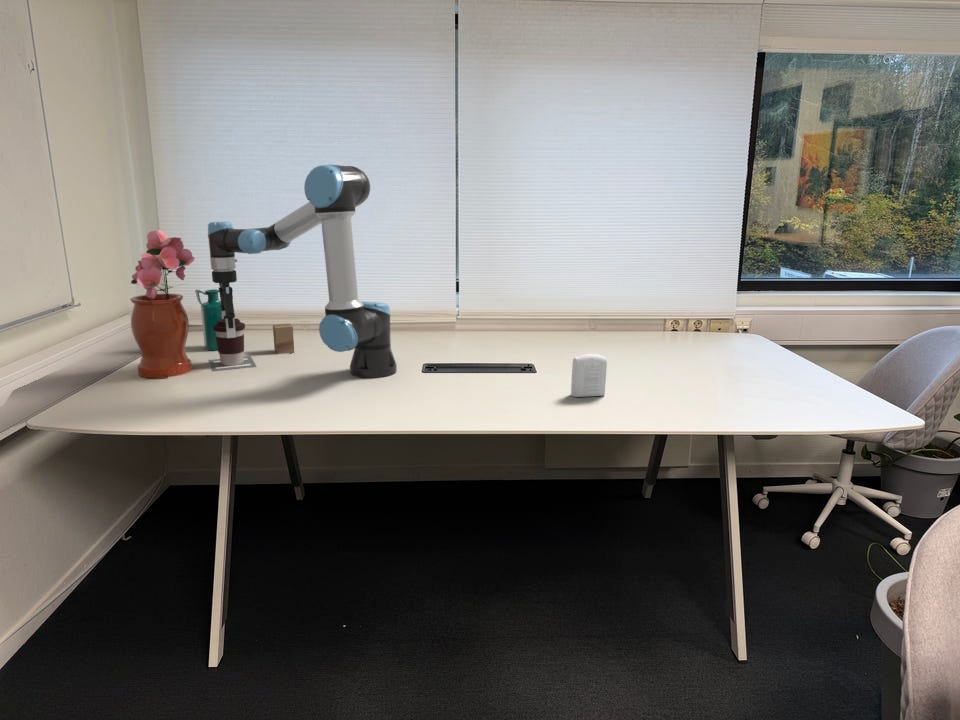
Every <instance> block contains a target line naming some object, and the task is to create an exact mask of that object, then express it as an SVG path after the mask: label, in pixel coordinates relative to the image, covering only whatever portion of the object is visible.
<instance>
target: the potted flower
mask: <svg viewBox="0 0 960 720" xmlns="http://www.w3.org/2000/svg"><path fill="white" fill-rule="evenodd" d="M146 238H147V243H146V245H145V246H146V248H147V250H146V252H143V253H140V256H141V259H140V260H137V262H138V264H137V265H136V266H135V273H133V274H132V275H131V279H132V280H131V281H130V284H131V285H132V284H133V285H137V284H138V285H139V286H140V287H142V288H143V289H145V290H146V293H145V294H142V295H137V296H136V295H135V296H132V297H131V298H130V301H131V303H132V304H133V309H132V311H131V314H130V329H131V333H132V336H133V338H134V340H135V343H136V344H137V346H138V348H139V351H140V353H141V356H140V357H141V358H140V362H138V363H137V372H138V376H139V377H141V378H143V379H144V378H145V379H168V378H169V377H176V376H181V375H185V374H187V373H189V372H191V371H192V369H193V367H192V360H191V359H190V358H189V357H188V356H187V354H186V351H185V350H186V343H187V340H188V335H189V329H190V328H189V327H190V326H189V325H190V324H189V322H190V321H189V317H188V313H187V312H186V310H185V308H184V306H183V304H182V301H183V298H184V296H183V294H179V293H169V289H171V288H174V287H176V285H175V286H170V285H168V279H167V278H168V277H167V276H168V275H169V274H171V273H174V271H173V270H175V275H176V277H177V278H178V279H180V280H181V281H185V279H184V278H185V277H186V275H185V272H184V271H185V270H186V267H187V266H190V264H192V263H193V262H194V261H195V257H194V256H193V253H192V251H191V250H190V249H188V248H184V247H185V246H184V242H183V240H182V237H176V236H175V237H169V236H168V235H167V234H166V233H165V232H164V231H162V230H160V229H158V230H151V231H149V232H148V233H147V235H146ZM162 271H163V272H162ZM163 274H164V275H163ZM162 276H163V282H164V284H161V280H162ZM187 284H188V283H186V285H187ZM158 285H161V286H164V288H161V287H160V286H158ZM183 285H185V283H184V284H182V286H183ZM177 286H178V287H179V286H180V284H179V285H177ZM156 287H157V288H158V289H156ZM159 291H160V292H163V293H158V292H159Z"/></svg>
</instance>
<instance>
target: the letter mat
mask: <svg viewBox="0 0 960 720" xmlns="http://www.w3.org/2000/svg"><path fill="white" fill-rule="evenodd" d="M208 363H209V367H210V370H211V372H218V371H221V372H222V371H231V370H240V369H248V368H250V369H251V368H257V364H256V362H255V361H254V359H253V358H252V356H251V355H248V356H247V355H246V356H245V355H244V362H243V363H242V364H240V365H235V366H225V365H222V364H221V361H220V358H217V359H215V358H213V359H208Z"/></svg>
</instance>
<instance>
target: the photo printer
mask: <svg viewBox="0 0 960 720" xmlns="http://www.w3.org/2000/svg"><path fill="white" fill-rule="evenodd" d="M607 363H608V361H607V358H606V356H603V355H600V354H594V353H586V354H580V355H578V356H575V357H574V358H573V359H572V369H571V386H570V387H571V388H570V395H571V397H574V398H580V397H581V398H582V397H583V398H584V397H599V396H600V397H601V396H605V394H606V393H605V392H606V382H607V381H606V380H607V366H608V364H607Z"/></svg>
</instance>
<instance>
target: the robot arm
mask: <svg viewBox="0 0 960 720" xmlns="http://www.w3.org/2000/svg"><path fill="white" fill-rule="evenodd" d="M303 187H304V189H303V190H304V195H305V197H306V200H307V201H308V202H307V203H305V204H303V205H302V206H300V207H299V208H297V209H295V210H293V211H292V212H291V213H289V214H287V215H286V216H284V217H283V218H281V219H279V220H277V222H275V223H273V224H271V225H269V226H267V227H256V228H234V227H233V223H232V222H231V221H212V222H208V224H207V237H208V246H209V255H210V257H209V258H210V259H209V260H210V269H211V270H212V272H211V277H212V279H211V280H212V282H213V283H214V284H218V285H219V287H218V290H219V293H218V294H219V301H221V305H220V307H221V310H222V319H225V320H226V331H227V338H235V337H236V330H235V319H234V318H235V317H236V313H235V308H234V302H233V301H234V296H233V288H232V286H230V283H231V284H232V283H236V282H237V280H238V279H237V276H238V275H237V271H236V270H235V269H236V266H237V265H236V263H237V262H238V259H237V258H236V257H235V256H236V254H235V253H239V254H248V255H253V254H254V255H256V254H261V253H262V252H267V251H270V252H271V251H280V250H283V249H287V248H288V247H289V246H290V244H291V243H292V242H293V241H294V240H295V239H298V238H300V237H301V236H302V235H304V234H305V233H308V232H309V231H311V230H312V229H315V228H316V227H317V226H319V225H320V224H321V231H322V241H323V251H324V261H325V271H326V282H327V293H328V302H327V304H326V305H325V306H324V314H325V316H324V317H323V318H322V319H321V321H320V322H319V326H318V331H319V332H318V333H319V335H320V338H321V340H322V343H323V344H325V346H326V347H327V348H328V349H330V350H332V351H334V352H337V353H343V352H347V351H348V352H350V351H352V350H353V354H352V357H351V361H350V365H349V372H350V374H351V375H352V376H355V377H360V378H368V379H369V378H383V377H389V376H391V375H394V374H396V373H397V367H398V366H397V362H396V360H395V357H394V353H393V351H392V347H391V345H392V344H391V342H392V341H391V311H390V306H389V304H388V303H385V302H379V301H378V302H377V301H361V300H360V299H359V295H358V283H357V273H356V272H357V271H356V263H355V260H356V258H355V248H354V237H353V225H352V217H353V216H354V215H355V214H356V208H357V207H358V206H361V205H362V204H363V203H365V201H367V200H368V198H369V196H370V192H371V182H370V180H369V177H368V175H367V174H366V173H365V172H364V170H362V169H360V168H359V167H357V166H353V165H352V166H351V165H339V164H322V165H317V166H315V167H313V169H311V170H310V171H309V173H308V174H307V176H306V178H305V181H304V186H303Z"/></svg>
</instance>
